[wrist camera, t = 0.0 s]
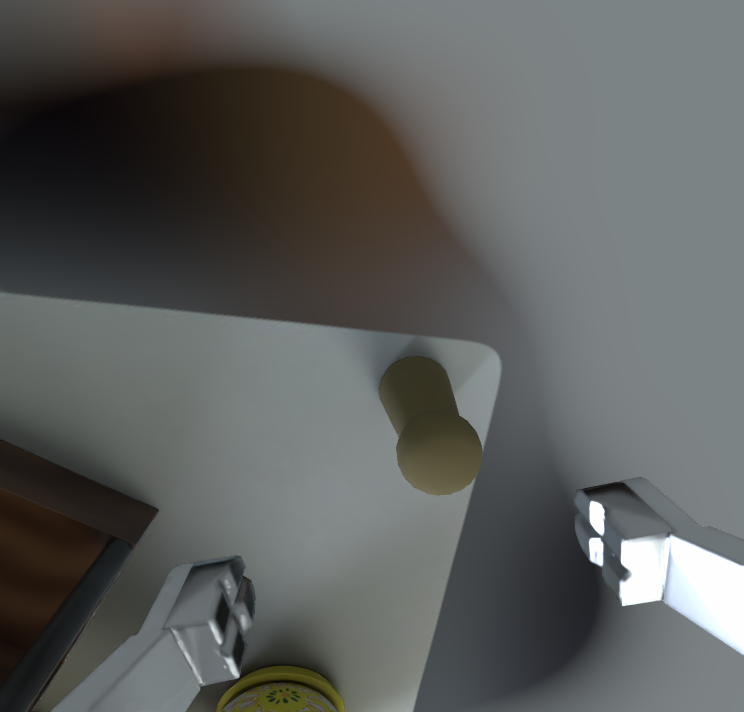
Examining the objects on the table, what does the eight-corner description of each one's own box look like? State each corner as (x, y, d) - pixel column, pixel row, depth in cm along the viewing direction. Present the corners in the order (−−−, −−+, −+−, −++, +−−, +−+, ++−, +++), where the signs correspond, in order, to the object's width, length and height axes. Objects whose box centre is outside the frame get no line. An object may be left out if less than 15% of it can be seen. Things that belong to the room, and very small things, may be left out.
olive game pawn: (381, 354, 31) (398, 420, 21) (454, 357, 32) (506, 425, 21) (376, 420, 33) (388, 511, 23) (445, 422, 34) (487, 513, 23)
